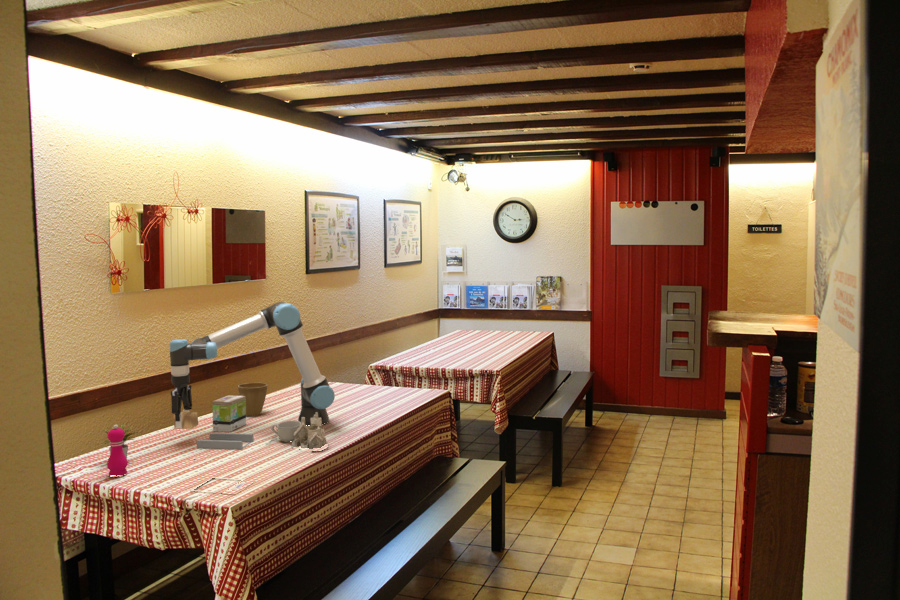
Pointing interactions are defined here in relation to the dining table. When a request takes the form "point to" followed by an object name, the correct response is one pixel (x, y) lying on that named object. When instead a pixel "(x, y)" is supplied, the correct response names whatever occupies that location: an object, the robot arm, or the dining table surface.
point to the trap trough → (226, 441)
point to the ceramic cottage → (310, 434)
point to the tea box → (229, 413)
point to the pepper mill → (116, 452)
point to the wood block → (188, 420)
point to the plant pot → (253, 397)
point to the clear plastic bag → (229, 488)
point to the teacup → (286, 430)
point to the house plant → (125, 447)
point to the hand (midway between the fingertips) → (183, 426)
